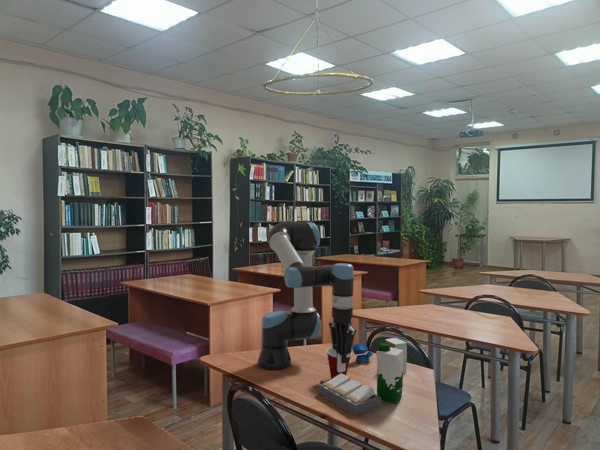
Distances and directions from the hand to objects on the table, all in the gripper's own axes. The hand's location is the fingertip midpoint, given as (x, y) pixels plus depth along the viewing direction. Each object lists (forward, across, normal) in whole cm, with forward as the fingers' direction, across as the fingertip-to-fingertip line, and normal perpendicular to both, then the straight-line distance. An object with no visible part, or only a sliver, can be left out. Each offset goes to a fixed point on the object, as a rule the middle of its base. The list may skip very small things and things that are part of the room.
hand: (341, 371), depth 152 cm
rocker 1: (+8, -6, +3) cm, 11 cm away
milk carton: (+12, +8, +17) cm, 22 cm away
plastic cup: (+12, -16, +12) cm, 24 cm away
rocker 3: (+8, +7, +3) cm, 11 cm away
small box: (+12, -11, +40) cm, 44 cm away
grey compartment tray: (+11, -3, +3) cm, 12 cm away
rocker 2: (+8, 0, +3) cm, 9 cm away
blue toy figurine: (+12, -27, +35) cm, 46 cm away
